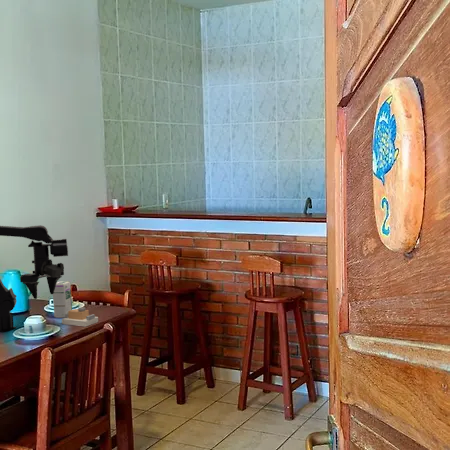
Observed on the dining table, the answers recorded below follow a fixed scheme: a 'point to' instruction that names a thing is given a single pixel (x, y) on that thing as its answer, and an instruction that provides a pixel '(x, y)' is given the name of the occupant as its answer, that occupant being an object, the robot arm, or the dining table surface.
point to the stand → (85, 322)
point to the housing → (78, 313)
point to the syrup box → (62, 299)
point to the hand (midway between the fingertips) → (43, 296)
